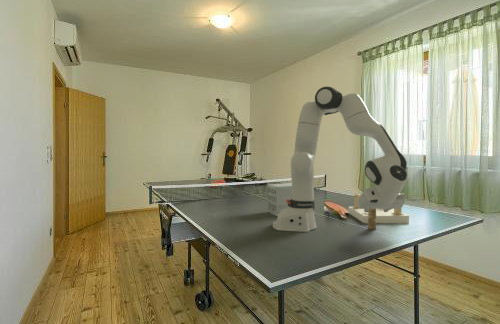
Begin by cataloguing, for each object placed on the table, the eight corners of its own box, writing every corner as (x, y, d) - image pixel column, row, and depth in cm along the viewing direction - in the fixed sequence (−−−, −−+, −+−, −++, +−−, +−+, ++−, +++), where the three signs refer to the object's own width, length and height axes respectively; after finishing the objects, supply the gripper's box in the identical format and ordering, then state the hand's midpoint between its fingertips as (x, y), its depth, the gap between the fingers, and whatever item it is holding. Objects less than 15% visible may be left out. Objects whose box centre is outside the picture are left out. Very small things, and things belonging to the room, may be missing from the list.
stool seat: (363, 223, 148) (364, 200, 147) (348, 212, 172) (348, 193, 171) (408, 223, 148) (409, 200, 147) (387, 212, 172) (387, 193, 171)
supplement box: (291, 209, 182) (291, 182, 181) (301, 214, 169) (302, 185, 168) (267, 212, 176) (267, 183, 175) (276, 216, 163) (276, 186, 162)
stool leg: (369, 229, 136) (370, 207, 136) (366, 227, 140) (367, 206, 139) (377, 229, 136) (377, 207, 136) (373, 227, 140) (374, 206, 139)
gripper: (405, 188, 126) (394, 205, 136) (360, 188, 126) (353, 205, 136) (411, 200, 122) (399, 216, 132) (364, 200, 122) (356, 216, 132)
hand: (375, 211), depth 134 cm, fingers open, 8 cm apart
